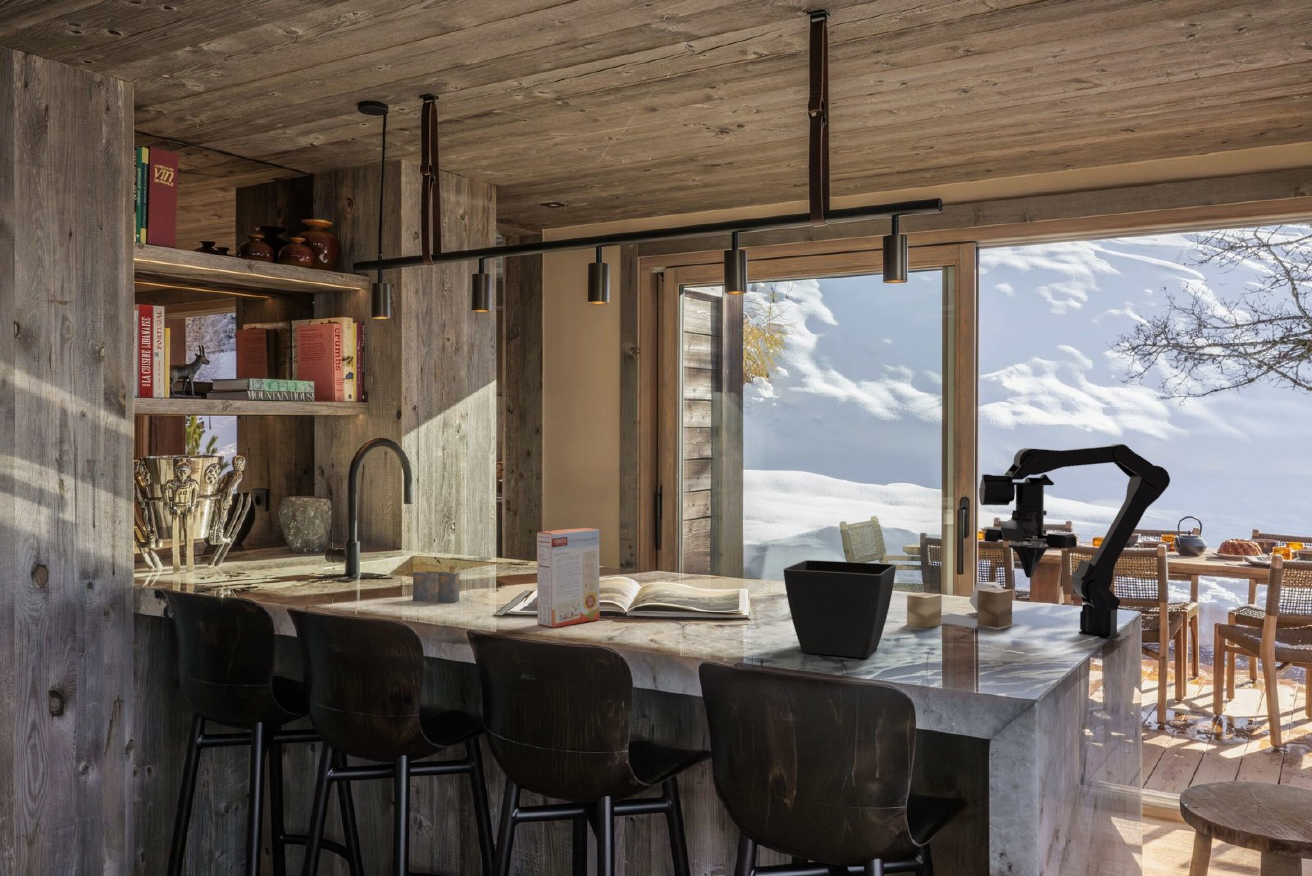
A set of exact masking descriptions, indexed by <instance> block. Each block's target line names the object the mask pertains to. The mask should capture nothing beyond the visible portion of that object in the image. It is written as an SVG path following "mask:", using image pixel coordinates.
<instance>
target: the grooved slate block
mask: <svg viewBox="0 0 1312 876" xmlns="http://www.w3.org/2000/svg"><path fill="white" fill-rule="evenodd" d="M459 566H460V564H457V565H456V564H452V563H451V564H450V565H449V569H448V571H431V570H430V571H429V570H428V571H427V570H425V571H424V572H420V571H419V570H416V571H413V572H412V602H427V603H428V602H429V603H449V604H451V603H452V604H456V603H458V602H459V601H460V572H457V570H458V568H459Z"/></svg>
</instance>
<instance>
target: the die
mask: <svg viewBox="0 0 1312 876" xmlns="http://www.w3.org/2000/svg"><path fill="white" fill-rule="evenodd" d="M987 588H999V589H1004V588H1003V587H1002V585H1001V584H1000V583H999V582H998V581H977V582H976V583H975V586H974V589H973V591H972V592H971V595H970V598H969V599H968V600H969V601H968V602H969V603H970V605H971V606H972V607H973V608H974V610H975V611H976V613H978V590H981V589H987Z"/></svg>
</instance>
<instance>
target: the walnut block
mask: <svg viewBox="0 0 1312 876" xmlns="http://www.w3.org/2000/svg"><path fill="white" fill-rule="evenodd" d="M976 618H977V626H981V627H987V628H993V629H1001V628H1005V627H1010V626H1012V623H1013V589H1005V588H1003V589H999V588H987V589H981V590H978V612H977V617H976ZM1010 628H1011V627H1010ZM1001 630H1002V629H1001Z"/></svg>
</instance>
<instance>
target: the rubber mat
mask: <svg viewBox="0 0 1312 876" xmlns="http://www.w3.org/2000/svg"><path fill="white" fill-rule="evenodd" d="M941 624H946V625H950V626H951V625H952V626H957V627H963V628H971V629H976V630H981V631H987V632H997V631H1001V630H1005V629H1010V628H1014V627H1018V626H1021V624H1019V623H1018V624H1017V623H1013V622H1012V626H1010V627H1005V628H1001V629H993V628H987V627H981V626H977V617H974V616H970V615H969V616H968V615H964V614H963V615H961V614H956V613H952V612H951V613H946V614H941Z"/></svg>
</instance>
